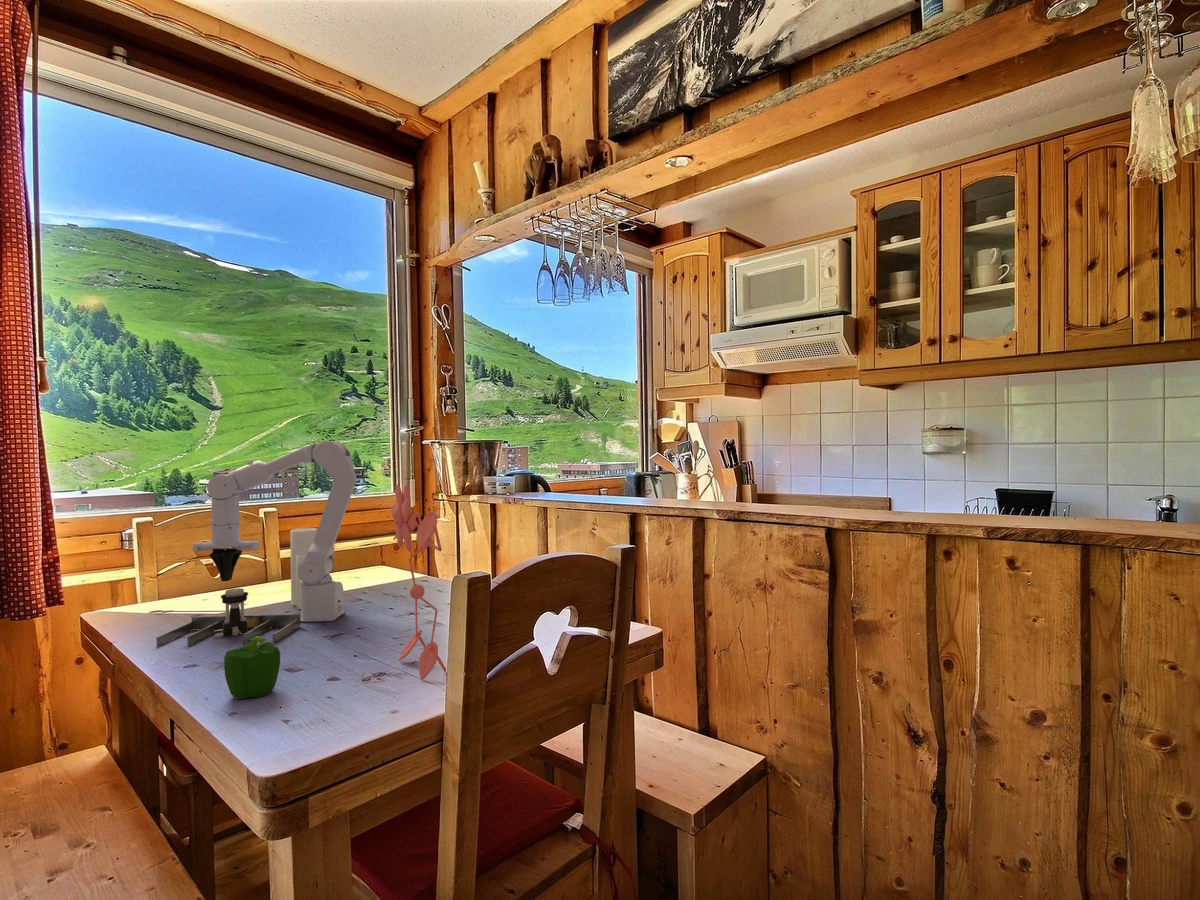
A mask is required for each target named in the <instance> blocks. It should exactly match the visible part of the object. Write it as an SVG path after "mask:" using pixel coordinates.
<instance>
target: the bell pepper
mask: <svg viewBox="0 0 1200 900" xmlns="http://www.w3.org/2000/svg"><path fill="white" fill-rule="evenodd" d="M258 642H259V643H260V644H258ZM223 666H224V668H223V670H224V677H225V680H226V683H227V688H228V690H229V692H230V695H231V696H232V697H233V698H234V699H238V700H241V699H247V698H257V697H259V698H260V697H264V696H267V695H268V694H270V693H272V692H273V690H274V688H275V687H276V685H277V679H278V675H279V671H280V666H281V651H280V650H279V648H278V646H275V644H274V643H273V642H271V641H266V638H265V637H263V636H262V635H259V636H257V637H254V638H253V639H252V640H251V641H250V642H247V643H246V644H243V645H242V646H240V647H239V648H234V649H230V650H227V651H226V653H225V655H224V657H223Z"/></svg>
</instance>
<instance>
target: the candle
mask: <svg viewBox="0 0 1200 900" xmlns="http://www.w3.org/2000/svg"><path fill="white" fill-rule="evenodd" d="M317 529H318V528H315V527H314V528H311V527H309V528H306V527H305V528H295V529H292V530H290V532H289V533H290V535H289V536H290V543H289V545H290V598H291V599H290V602H291V603H290V605H291V604H292V605H291V606H293V605H297V606H296V610H298V609H300V581H301V579H300V578H299V576H298V573H297V570H298V566H299V564H300V563H301V562H302V561H303V560H304V559H305V557H306V555H307V553H308V551H309V549H310V547H311V545H312V543H313V541H314V538H315V535H316V532H317Z"/></svg>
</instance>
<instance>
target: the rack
mask: <svg viewBox="0 0 1200 900" xmlns="http://www.w3.org/2000/svg"><path fill="white" fill-rule="evenodd" d="M244 617H245V618H246V619H245V620H246V621H247V628H253V629H249V631H248V632H247V633H245V634H241V639H242V641H241V644H242V645H245V644H244V643H246V642H247V643H249V642H251V641H250V640H251V639H253V638H254V637H256V636H258V635H259V636H261V635H262V634H264V633H266V632H267V631H269V630H271V629H272V628H271V627H284V628H280V629H279V630H278V631H275V632H274V633H272V644H276V643H278V642H279V641H281V640H283V639H284V638H285V637H287V636H289V635H290V634H291V633H293V632H295V631H296V630H298V629H299V628H301V627H300V626H301V623H302V622H301V613H281V614H280V613H279V614H275V613H274V614H246V615H245V614H244ZM240 619H241V614H240ZM225 620H226V615H203V616H191V621H190V622H188V623H186V624H183V625H180V626H179V627H177V628H174V629H172V630H169V631H168V632H165V633H163V634H161V635H158V636H156V647H157V646H159V647H161V646H163V645H165V644H167V643H169V642H168V641H170V640H172V639H174V638H176V637H178V636H180V637H182V636H184V635H186V634H188V633H190V632H189V631H191V630H193V629H202V630H197V631H196V632H194V633H192V634H190V635H188V636H187V641H186V642H187V646H188V645H190V646H192V645H194V644H196V643H198V642H200V641H201V639H202V640H203V638H204V639H206V638H207V636H208V637H209V635H210V636H211V634H212V635H213V633H214V634H216V633H217V632H216V631H214V630H220V629H223V624H224V623H225V622H224V621H225ZM241 621H242V620H241ZM229 622H230V615H229ZM229 622H226V623H229ZM255 627H256V628H255ZM270 628H271V629H270ZM297 628H298V629H297ZM268 629H269V630H268ZM266 630H267V631H266ZM294 630H295V631H294ZM193 631H194V630H193ZM265 631H266V632H265ZM187 632H188V633H187ZM191 632H192V631H191ZM215 632H216V633H215ZM263 632H264V633H263ZM185 633H186V634H185ZM261 633H262V634H261ZM183 634H184V635H183ZM260 634H261V635H260ZM181 635H182V636H181ZM286 635H287V636H286ZM205 637H206V638H205ZM283 637H284V638H283ZM178 638H179V637H178ZM176 639H177V638H176ZM280 639H281V640H280ZM174 640H175V639H174ZM199 640H200V641H199ZM172 641H173V640H172ZM197 641H198V642H197ZM248 641H249V642H248ZM277 641H278V642H277ZM166 642H167V643H166ZM170 642H171V641H170ZM195 642H196V643H195ZM275 642H276V643H275ZM164 643H165V644H164ZM193 643H194V644H193ZM247 643H246V644H247ZM162 644H163V645H162ZM191 644H192V645H191ZM160 645H161V646H160Z"/></svg>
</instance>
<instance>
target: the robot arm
mask: <svg viewBox="0 0 1200 900" xmlns="http://www.w3.org/2000/svg"><path fill="white" fill-rule="evenodd" d="M246 463H247V464H246V465H243V466H241V467H238V468H236V469H234V468H230V469H228V470H227V474H223V473H222V474H217V475H215V476H213V477H212V478H210V480H209V481H208V483H207V485H206V489H207V493H208V494H209V495H210V496H211V541H203V542H202V541H201V542H199V541H197V542H195V543H194V542H193V543H192V552H207V551H208V552H211V553H209V558H210V559H211V560H212V562H213V563H214V564H215V567H216V568H217V571H218V573H219V576H220V577H219V578H220V581H221V582H230V581H231V580H232V578H233V575H234V571H235V568H236V566H237V565H236V564H237V563H238V560H239V559H240V557H241V555H242V554H243V551H257V550H259V549H260V541H259V540H257V541H256V540H254V541H253V540H241V539H240V538H241V533H240V529H241V528H240V524H241V523H240V494H242V493H244V492H248V491H249V490H252V489H254V488H257V487H260V486H261V485H264V484H267V483H270V481H271V479H272V477H273V475H274V474H278V473H280V472H282V471H285V470H288V469H290V468H294V467H297V466H299V465H302V464H304V463H305V464H316V463H317V465H318V466H319V467H321V468H322V469H324V470H325V472H326V473H327V474H328V476H329V477H330V478H331V480H332V486H331V488H330V491H329V494H328V498H327V500H326V503H325V507H324V509H323V512H322V515H321V518H320V521H319V524H318V526H317V528H316V529H317V532H316V535H315V538H314V541H313V543H312V545H311V547H310V549H309V551H308V553H307V555H306V557H305V559H304V560H303V561H302V562H301V563H300V564H299V566H298V570H297V573H298V576H299V578H300V579H301V581H300V609H301V610H300V614H301V623H305V622H308V623H309V622H333V621H335V620H336V619H338V618H339V617H340V616H342V615H343V614H344V613H345V612H346V611H345V610H344V608H345V607H344V606H345V605H344V586H343V583H342V582H341V581H334V580H333V577H332V576H331V574H330V573H331V572H332V570H333V569H334V553H335V545H336V541H337V538H338V535H339V532H340V529H341V527H342V523H343V520H344V516H346V515H345V514H346V511H347V508H348V506H349V503H350V499H351V496H352V494H353V490H354V488H355V484H356V482H357V475H356V471H355V467H354V463H353V459H352V453H351V452H350V451H349V449H348V448H347V447H346V445H344V443H343V442H341V441H338V440H337V441H335V440H333V441H331V440H321V441H319V442H318V443H313V444H308V445H305V446H302V447H300V448H297V449H295V450H293V451H290V452H288V453H285V454H283V455H282V456H279V457H276V458H275V459H272V460H270V461H267V462H264V461H262V460H259V459H258V460H254V459H252V460H250V461H247V462H246Z"/></svg>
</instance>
